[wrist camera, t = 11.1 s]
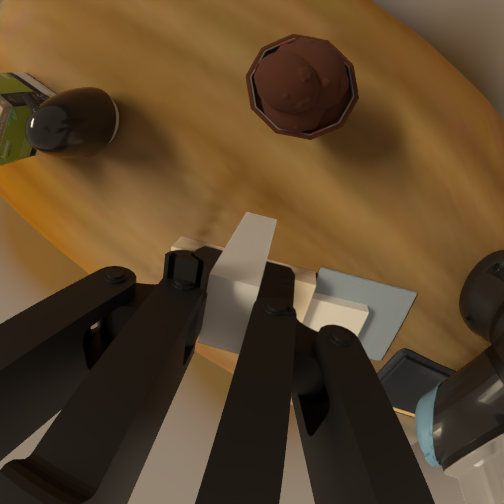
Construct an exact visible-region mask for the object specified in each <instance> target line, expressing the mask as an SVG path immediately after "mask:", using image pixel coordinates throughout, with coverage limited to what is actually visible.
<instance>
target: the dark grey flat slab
mask: <svg viewBox="0 0 504 504" xmlns="http://www.w3.org/2000/svg"><path fill="white" fill-rule="evenodd" d="M455 372H456V371H454V370H452V369H449V368H447V367H445V366H443V365H440V364H438V363H436V362H434V361H432V360H430V359H428V358H426V357H424V356H422V355H420V354H418V353H416V352H414V351H412V350H409V349H406V348H403V349H401V350H399V351H398V352H397V353H396V354H395V355H394V356H393V357H392V358H391V359H390V360H389V361H388V362H387V363H386V364H385V365H384V367H383V368H382V369H381V370H380V371H379V372H378V373H377V375H378V377H379V380H380V382H381V384H382V386H383V388H384V390H385V392H386V394H387V396H388V398H389V400H390V402H391V404H392V407H393V409H394V411H395V412H398V413H401V414H404V415H407V416H411V417H414V418H415V412H416V408H417V404H418V402H419V400H420V399H421V397H422V396H423V395H425V394H426V393H428V392H429V391H430V390H432V389H433V388H435V387H436V386H437V384H438V383H439V382H441V381H444V380H445V379H447V378H448V377H450V376H451V375H453V374H454V373H455Z"/></svg>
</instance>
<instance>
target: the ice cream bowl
mask: <svg viewBox="0 0 504 504" xmlns="http://www.w3.org/2000/svg"><path fill="white" fill-rule="evenodd" d="M246 82H247V88H248V94H249V100H250V106H251V109H252V110H253V111H254V112H255V113H256V114H257V115H258V116H259V117H260V118H261V119H262V120H263V121H264V122H265V123H266V124H267V125H268V126H269V127H270V128H271V129H272V130H273V131H274V132H275V133H278V134H283V135H288V136H294V137H299V138H304V139H308V140H312V139H314V138H316V137H319V136H321V135H323V134H326V133H328V132H331V131H333V130H335V129H338V128H340V127H342V126H343V125H344V123H345V121H346V119H347V118H348V116H349V114H350V112H351V111H352V109H353V107H354V105H355V104H356V102H357V100H358V98H359V96H358V90H357V83H356V77H355V72H354V66H353V64H352V63H351V62H350V61H349V60H348V59H347V58H346V57H345V56H344V55H343V54H342V53H341V52H340V51H339V50H338V49H337V48H336V47H335V46H333V45H332V44H331V43H330V42H329V41H328V40H323V39H318V38H313V37H308V36H302V35H296V34H292V35H290V36H287V37H285V38H282V39H280V40H278V41H275V42H273V43H271V44H269V45H267V46H264V47H262V48H261V50H260V51H259V53H258V55H257V57H256V58H255V60H254V62H253V64H252V66H251V67H250V69H249V71H248V73H247V75H246Z"/></svg>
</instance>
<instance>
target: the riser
mask: <svg viewBox="0 0 504 504" xmlns="http://www.w3.org/2000/svg"><path fill="white" fill-rule="evenodd" d="M203 246H208V247H212V248H215V249H219V250H224V249H225V248H224V247H220V246H216V245H212V244H209V243H205V242H201V241H197V240H194V239H190V238H186V237H182V236H181V237H180V238H179V239H178V240H177V241H176V242H175V243H174V244H173V245H172V246H171V251H174V250H189V251H195V250H196V249H198V248H201V247H203ZM267 261H268V262H272V263H276V264H279V265H283V266H287V267H291V269H292V270H293V272H294V273H295V287H294V304H293V307H294V309H295V310H296V314H297V319H298V320H299V321H300V322H301V323H302V322H303V320H304V317H305V315H306V312H307V309H308V307H309V304H310V301H311V299H312V296H313V293H314V290H315V288H316V273H315V272H314V271H311V270H307V269H303V268H299V267H295V266H292V265H288V264H284V263H280V262H276V261H273V260H269V259H267Z"/></svg>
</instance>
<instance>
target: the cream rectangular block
mask: <svg viewBox="0 0 504 504" xmlns="http://www.w3.org/2000/svg"><path fill="white" fill-rule="evenodd" d="M368 314H369V310H368V307H367V305H364V304H360V303H356V302H352V301H348V300H344V299H340V298H336V297H332V296H328V295H324V294H320V293H316V292H314V293H313V296H312V299H311V301H310V304H309V307H308V309H307V312H306V315H305V317H304V320H303V322H302V324H304V325H305V326H307V327H309V328H311V329H313V330H315V331H317V332H319V330H320V328H321V327H323V326H325V325H338V326H342V327H344V328H347V329H349V330H350V331H352V332H353V333H354V334H355V335H356V336H358V334H359V332H360V330H361V328H362V326H363V324H364V322H365V320H366V318H367V316H368Z"/></svg>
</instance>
